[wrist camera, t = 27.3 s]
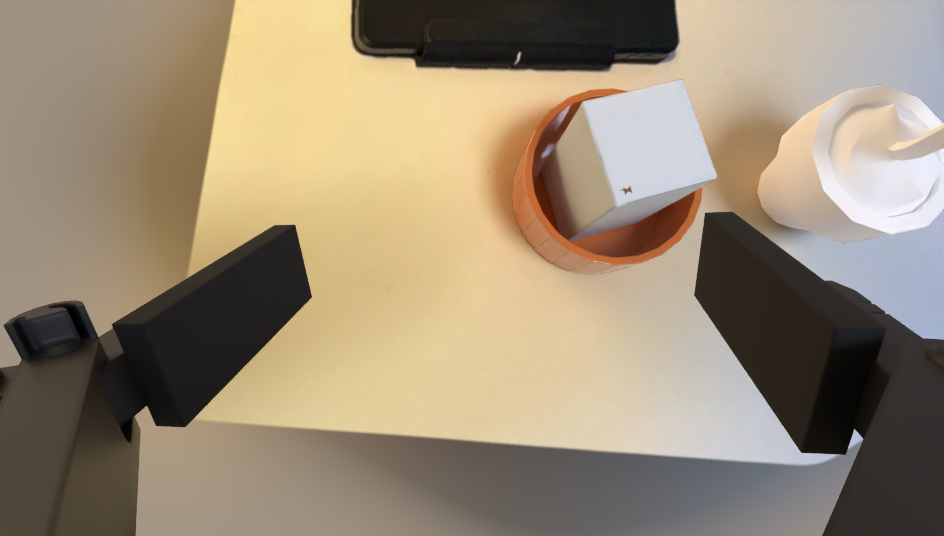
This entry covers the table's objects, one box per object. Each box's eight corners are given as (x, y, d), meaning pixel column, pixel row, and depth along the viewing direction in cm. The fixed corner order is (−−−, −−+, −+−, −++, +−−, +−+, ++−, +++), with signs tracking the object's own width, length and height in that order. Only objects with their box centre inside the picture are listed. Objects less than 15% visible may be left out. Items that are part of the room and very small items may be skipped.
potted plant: (769, 276, 43) (1225, 208, 18) (707, 167, 44) (1059, -43, 19) (876, 218, 44) (1433, 80, 19) (814, 113, 45) (1270, -146, 20)
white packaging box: (637, 224, 42) (722, 181, 29) (561, 244, 41) (613, 209, 29) (614, 148, 43) (686, 75, 30) (538, 167, 42) (579, 99, 29)
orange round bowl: (480, 207, 42) (487, 186, 35) (573, 94, 44) (596, 54, 37) (604, 306, 41) (634, 302, 35) (692, 187, 43) (736, 163, 37)
